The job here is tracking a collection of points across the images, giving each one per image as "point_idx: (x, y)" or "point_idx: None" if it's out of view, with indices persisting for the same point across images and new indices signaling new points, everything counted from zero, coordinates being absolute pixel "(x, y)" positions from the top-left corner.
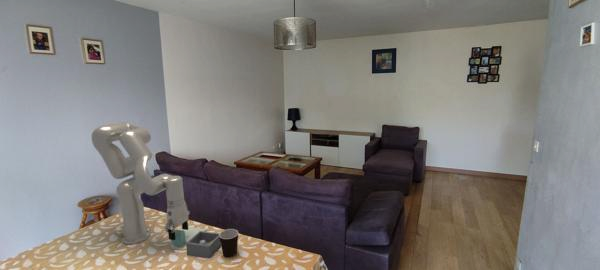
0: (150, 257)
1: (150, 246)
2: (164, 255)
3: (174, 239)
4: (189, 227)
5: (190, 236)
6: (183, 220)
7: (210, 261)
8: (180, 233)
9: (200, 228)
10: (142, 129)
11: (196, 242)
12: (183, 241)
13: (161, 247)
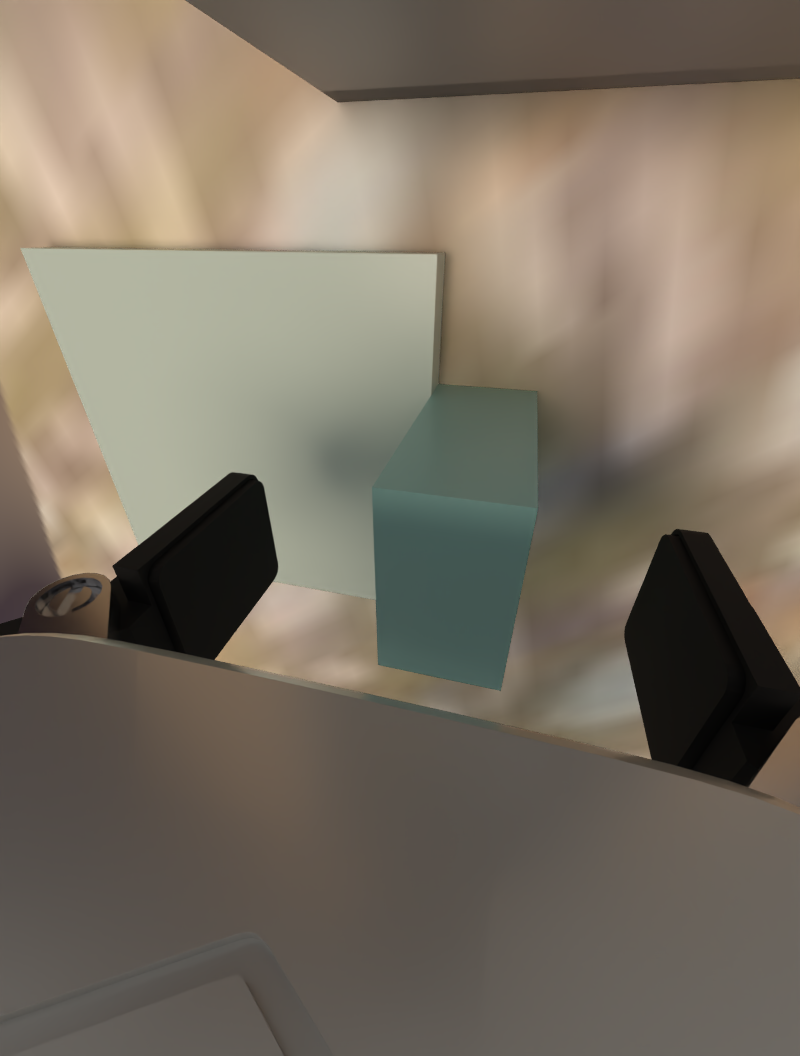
0: (796, 656)
1: (547, 719)
2: (779, 524)
3: (708, 544)
4: (138, 525)
5: (289, 396)
6: (225, 810)
7: None
8: (530, 518)
9: (70, 367)
10: None
11: None
12: (482, 408)
13: (563, 630)
